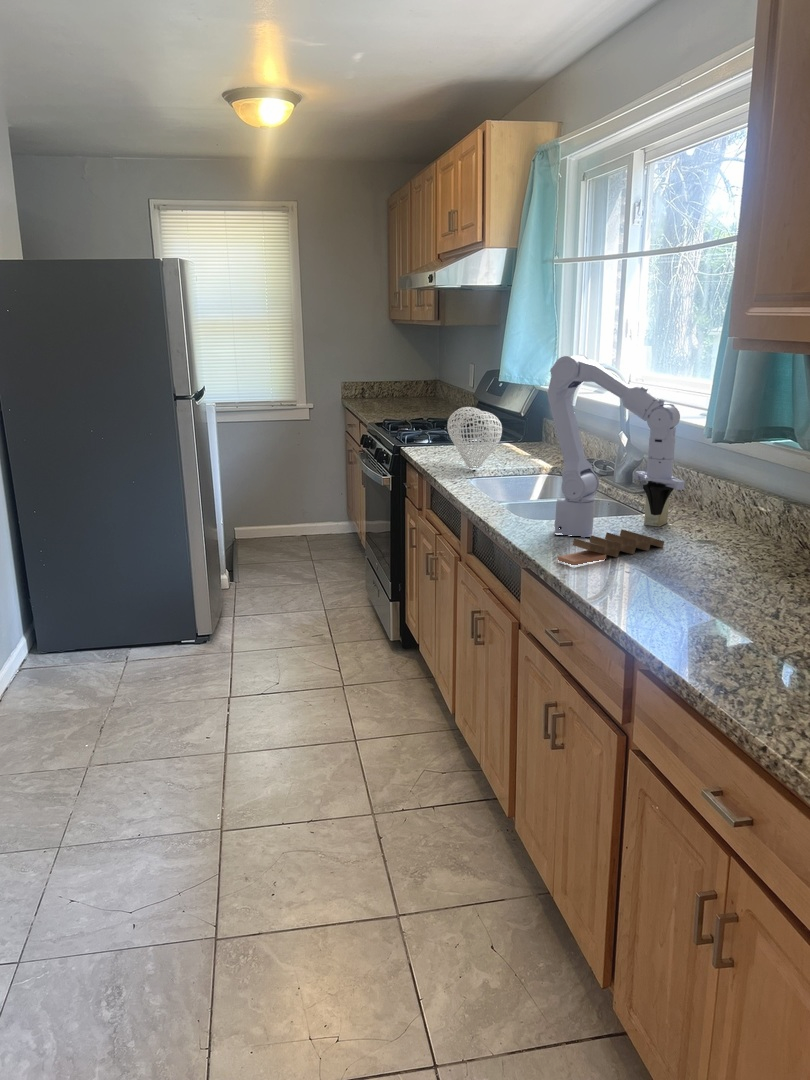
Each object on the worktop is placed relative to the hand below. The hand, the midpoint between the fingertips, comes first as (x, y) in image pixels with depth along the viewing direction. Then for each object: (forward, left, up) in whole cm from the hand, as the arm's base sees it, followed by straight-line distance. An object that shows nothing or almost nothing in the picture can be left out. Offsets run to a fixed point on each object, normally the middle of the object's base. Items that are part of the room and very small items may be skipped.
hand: (656, 514), depth 188 cm
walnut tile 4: (-10, -11, -7) cm, 16 cm away
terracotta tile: (-12, -15, -7) cm, 20 cm away
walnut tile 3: (-6, -7, -7) cm, 12 cm away
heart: (-61, +86, -8) cm, 106 cm away
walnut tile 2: (-3, -3, -7) cm, 8 cm away
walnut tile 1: (0, 0, -7) cm, 7 cm away
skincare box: (+1, +22, -8) cm, 24 cm away
